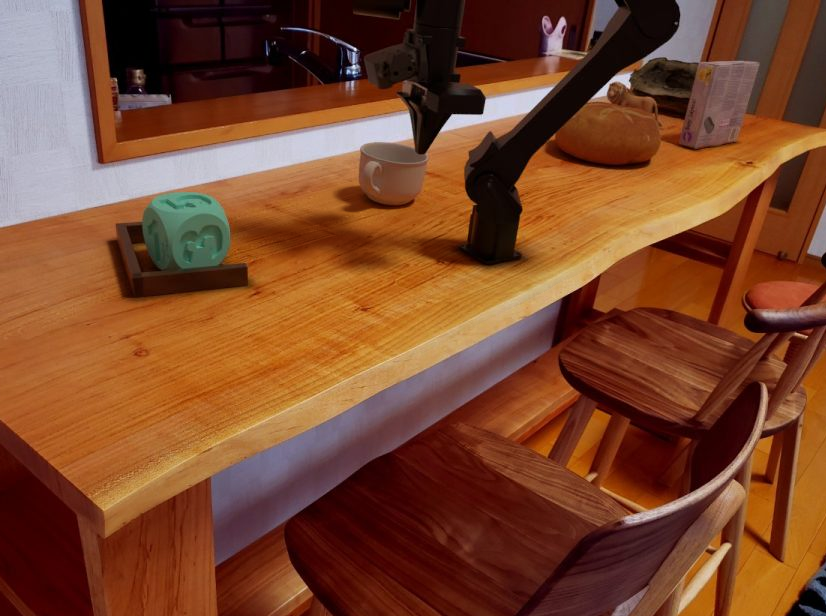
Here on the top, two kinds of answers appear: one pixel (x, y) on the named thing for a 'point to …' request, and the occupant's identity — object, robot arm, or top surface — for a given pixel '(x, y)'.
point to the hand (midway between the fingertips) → (420, 153)
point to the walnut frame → (173, 278)
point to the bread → (610, 134)
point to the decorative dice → (185, 231)
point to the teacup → (391, 172)
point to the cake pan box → (718, 103)
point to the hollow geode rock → (665, 82)
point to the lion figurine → (630, 99)
